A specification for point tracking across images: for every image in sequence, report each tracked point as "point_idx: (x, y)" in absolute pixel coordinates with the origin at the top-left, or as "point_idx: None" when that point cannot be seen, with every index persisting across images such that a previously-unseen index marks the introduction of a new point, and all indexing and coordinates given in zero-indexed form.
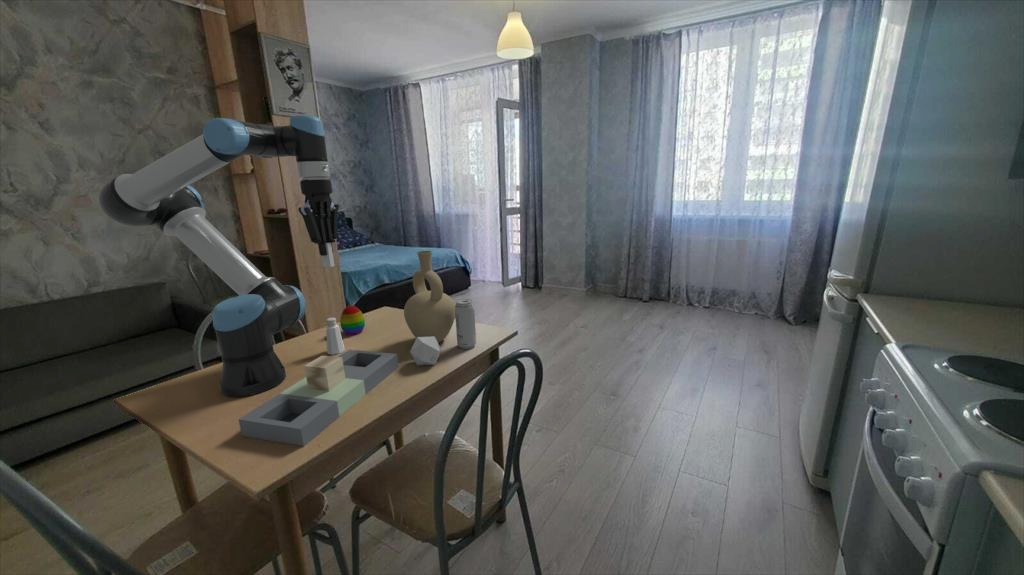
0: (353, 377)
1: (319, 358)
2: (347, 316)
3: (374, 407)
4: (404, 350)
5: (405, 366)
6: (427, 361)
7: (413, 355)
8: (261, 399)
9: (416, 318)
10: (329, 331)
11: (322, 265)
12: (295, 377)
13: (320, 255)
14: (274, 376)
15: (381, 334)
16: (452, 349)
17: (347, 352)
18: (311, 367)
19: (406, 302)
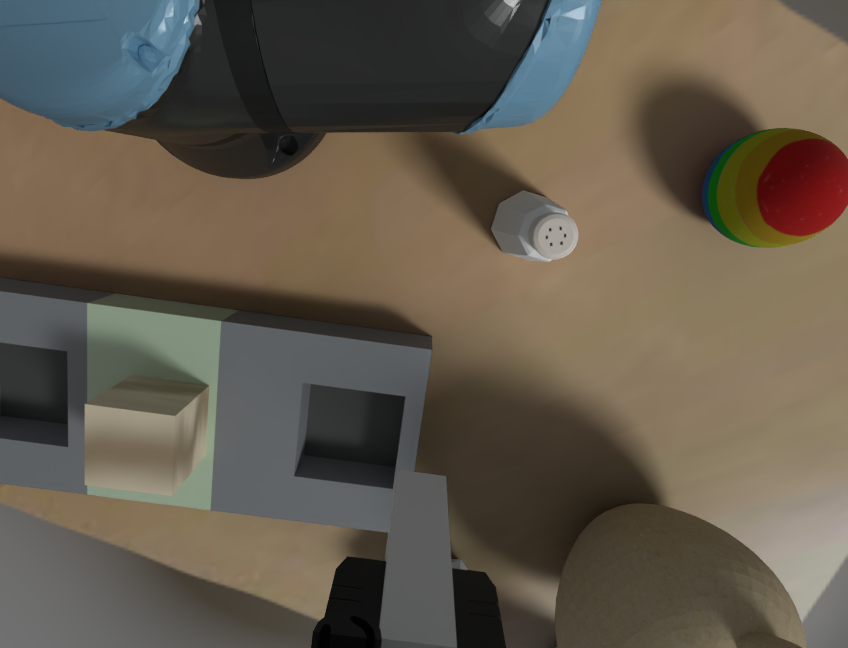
0: (221, 473)
1: (149, 422)
2: (747, 194)
3: (171, 534)
4: (535, 479)
5: None
6: None
7: None
8: (147, 187)
9: (562, 617)
10: (515, 232)
11: (396, 475)
12: (298, 202)
13: (345, 559)
14: (219, 174)
15: (701, 328)
16: (545, 625)
17: (405, 356)
18: (87, 430)
19: (672, 586)
